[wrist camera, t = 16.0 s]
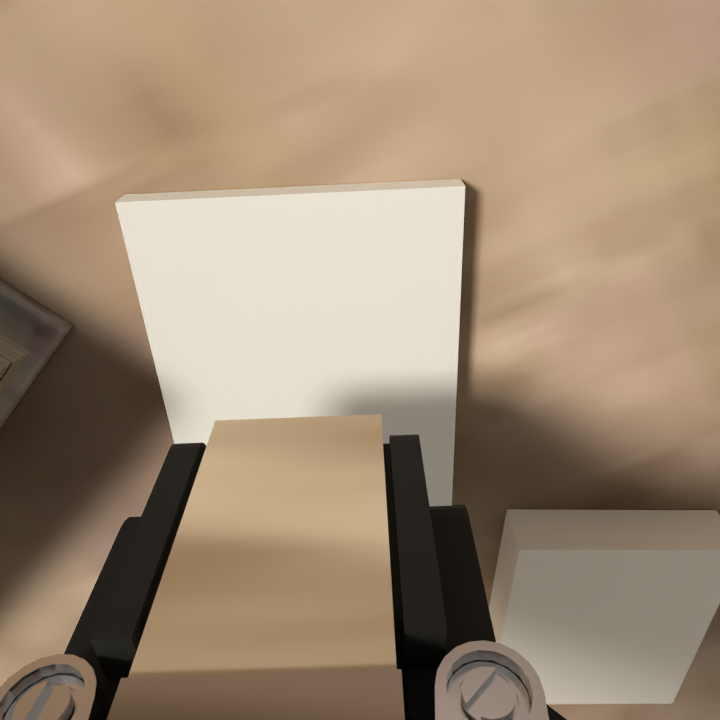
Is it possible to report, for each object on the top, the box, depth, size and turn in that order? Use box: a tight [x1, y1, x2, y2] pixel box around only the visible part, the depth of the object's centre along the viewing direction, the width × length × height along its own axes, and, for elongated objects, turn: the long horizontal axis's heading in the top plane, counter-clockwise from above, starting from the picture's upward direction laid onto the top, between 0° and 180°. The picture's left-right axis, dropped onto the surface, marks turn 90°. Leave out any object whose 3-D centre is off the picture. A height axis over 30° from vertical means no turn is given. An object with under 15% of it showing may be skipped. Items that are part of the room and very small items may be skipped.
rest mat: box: [115, 179, 465, 506], centre depth 15 cm, size 10×7×1 cm
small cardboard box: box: [107, 414, 405, 720], centre depth 9 cm, size 3×3×6 cm
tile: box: [489, 509, 720, 704], centre depth 19 cm, size 2×6×7 cm
